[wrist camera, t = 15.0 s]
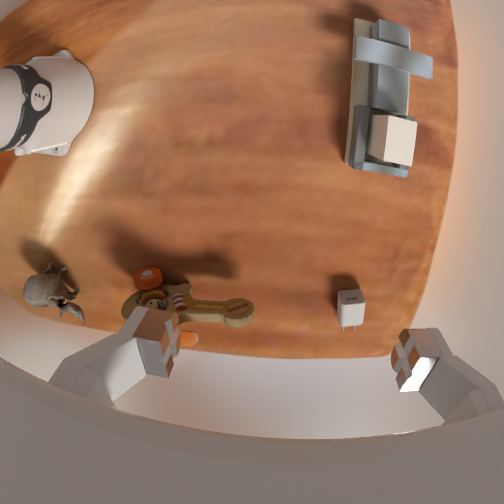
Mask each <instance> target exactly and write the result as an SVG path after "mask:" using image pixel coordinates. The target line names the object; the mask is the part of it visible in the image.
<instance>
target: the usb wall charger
mask: <svg viewBox="0 0 504 504" xmlns="http://www.w3.org/2000/svg"><path fill="white" fill-rule="evenodd" d="M364 310H365V298H364V295H363V293H362V291H361V290H360V289H353V290H342V291H339V292H338V304H337V316H338V321H339V325H340V326H342V330H343V331H344V326H354V330H355V327H356V325H361V324H362V323H363V318H364Z"/></svg>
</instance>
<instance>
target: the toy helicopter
mask: <svg viewBox="0 0 504 504" xmlns="http://www.w3.org/2000/svg"><path fill="white" fill-rule="evenodd" d="M133 280H134V283H135V286H136V288H138V289H140V290H139V291H137V292H136V293H134V294H133V295H131V296H130V297H129V298H128V299H127V300H126V301H125V303H124V304H123V306H122V309H121V313H122V316H123V318H124V320H125V322H126V321H127V320H128V318H129V316H130V315H131V313H132V312H133V310H134V309H135V308H136V307H138V306H142V307H146V308H153V309H159V310H164V311H170V312H176V313H177V314H178V318H179V323H178V325H179V324H181V323H183V322H187V321H193V322H222V323H225V324H226V325H228V326H230V327H236V328H239V327H244V326H247V325H248V324H250V323H251V322H252V320H253V318H254V306H253V304H252V303H251V302H250V301H249V300H246V299H243V298H235V299H230V300H227V301H223V302H222V301H207V300H196V299H193V298H192V290H191V285H190V284H187V283H183V284H180V285H166V284H163V285H160V284H161V283H162V281H163V276H162V272H161V270H160V269H159V268H157V267H145V268H142V269H140V270H138V271H137V272H136V273H135V274H134V276H133ZM180 332H181V344H180V345H183V346H191V345H194V344H196V343H197V341H198V335H197V334H196V333H195V332H192V331H183V330H180Z"/></svg>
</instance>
